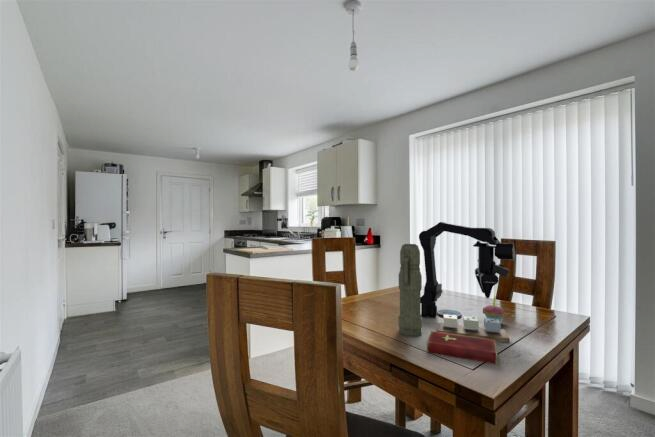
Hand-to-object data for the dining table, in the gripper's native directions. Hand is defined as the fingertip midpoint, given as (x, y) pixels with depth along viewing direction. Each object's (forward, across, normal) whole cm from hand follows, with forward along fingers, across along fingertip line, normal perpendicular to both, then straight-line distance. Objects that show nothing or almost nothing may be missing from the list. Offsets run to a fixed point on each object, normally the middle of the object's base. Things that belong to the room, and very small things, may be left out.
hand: (485, 295), depth 132 cm
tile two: (+10, -10, +7) cm, 16 cm away
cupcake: (+13, +8, -4) cm, 16 cm away
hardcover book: (+14, -29, +12) cm, 35 cm away
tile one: (+10, -10, +14) cm, 20 cm away
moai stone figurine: (+14, -17, +30) cm, 37 cm away
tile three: (+10, -11, -1) cm, 15 cm away
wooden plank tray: (+13, -10, +7) cm, 18 cm away
